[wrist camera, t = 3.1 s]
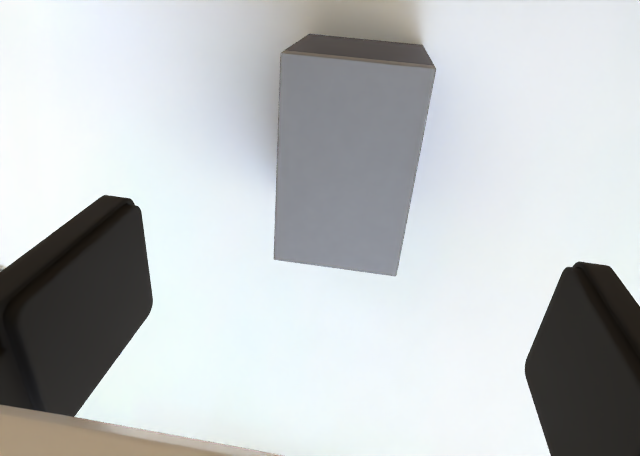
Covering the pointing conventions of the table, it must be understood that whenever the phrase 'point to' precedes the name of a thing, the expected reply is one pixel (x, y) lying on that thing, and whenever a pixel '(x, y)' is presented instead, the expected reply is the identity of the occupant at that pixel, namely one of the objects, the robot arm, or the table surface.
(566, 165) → the table surface
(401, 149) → the block
